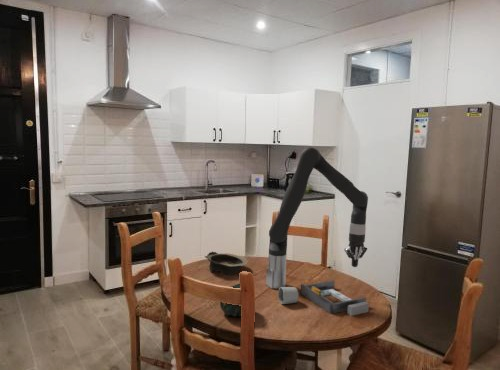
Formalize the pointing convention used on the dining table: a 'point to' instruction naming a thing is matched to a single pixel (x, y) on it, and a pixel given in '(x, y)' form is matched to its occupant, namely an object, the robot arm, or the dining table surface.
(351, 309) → the panel
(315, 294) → the rack bay
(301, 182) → the robot arm
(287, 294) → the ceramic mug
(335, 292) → the grey flat arch
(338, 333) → the dining table surface
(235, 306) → the squash
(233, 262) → the stone bowl
